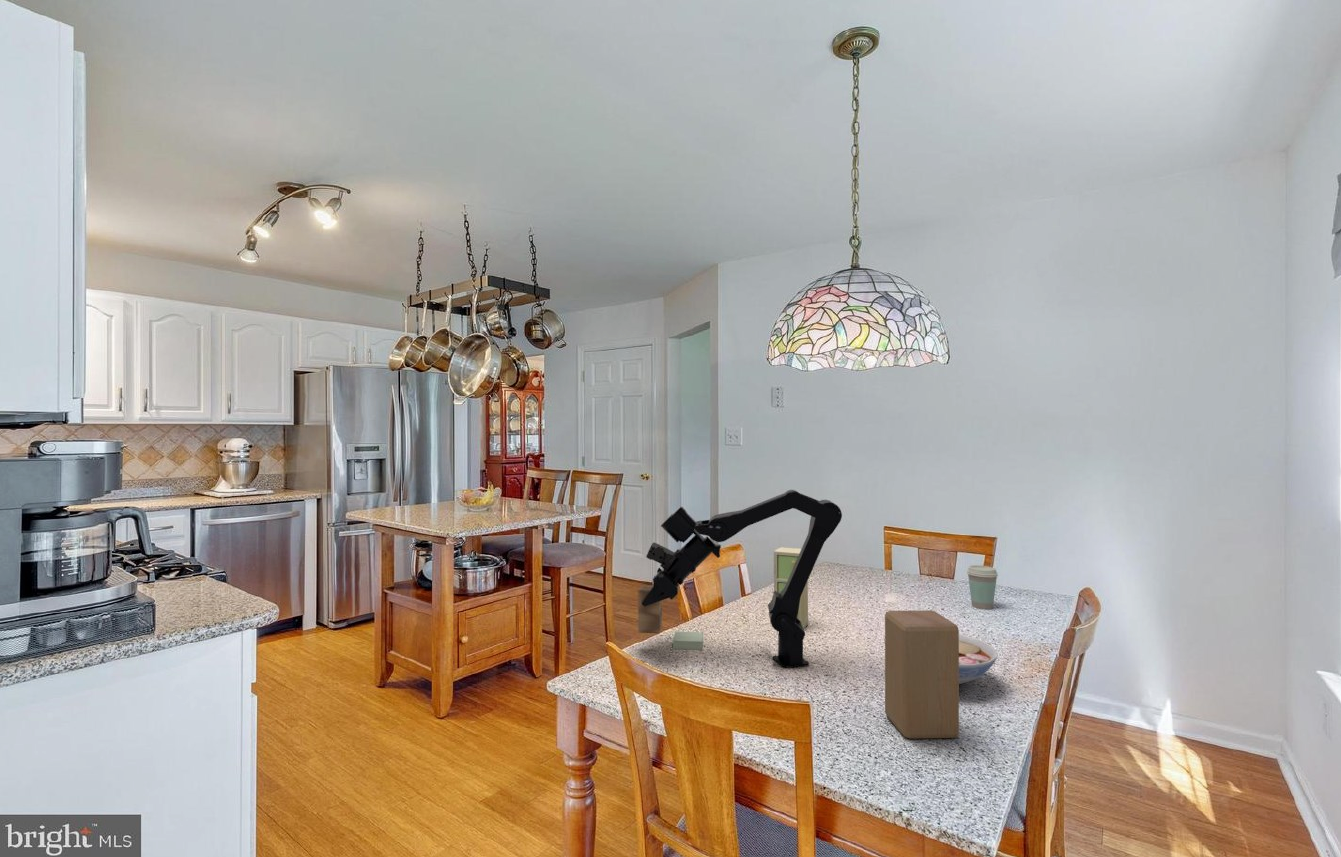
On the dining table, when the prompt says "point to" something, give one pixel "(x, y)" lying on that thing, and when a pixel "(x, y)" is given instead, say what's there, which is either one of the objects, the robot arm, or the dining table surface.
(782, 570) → the toy refrigerator
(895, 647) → the wooden block
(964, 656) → the ramen bowl
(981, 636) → the dining table surface
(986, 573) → the coffee cup
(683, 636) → the sage top slab
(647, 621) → the walnut pillar
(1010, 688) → the dining table surface
